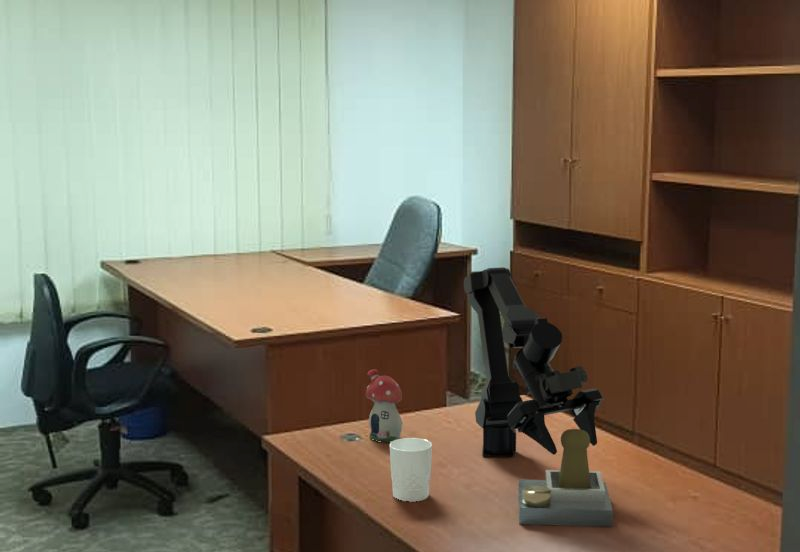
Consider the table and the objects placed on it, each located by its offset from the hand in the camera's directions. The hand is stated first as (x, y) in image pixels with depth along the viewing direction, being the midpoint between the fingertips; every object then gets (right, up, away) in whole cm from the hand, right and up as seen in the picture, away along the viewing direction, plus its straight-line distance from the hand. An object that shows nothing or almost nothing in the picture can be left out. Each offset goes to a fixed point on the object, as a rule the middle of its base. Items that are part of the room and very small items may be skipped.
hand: (575, 449), depth 190 cm
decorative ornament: (-35, -5, +42) cm, 55 cm away
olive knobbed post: (0, -8, +1) cm, 8 cm away
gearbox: (-2, -11, 0) cm, 11 cm away
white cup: (-30, -10, +8) cm, 32 cm away
